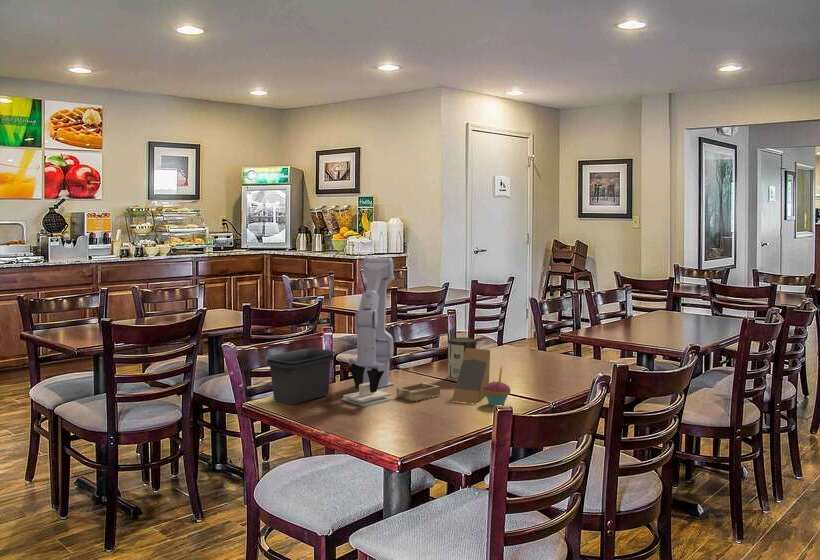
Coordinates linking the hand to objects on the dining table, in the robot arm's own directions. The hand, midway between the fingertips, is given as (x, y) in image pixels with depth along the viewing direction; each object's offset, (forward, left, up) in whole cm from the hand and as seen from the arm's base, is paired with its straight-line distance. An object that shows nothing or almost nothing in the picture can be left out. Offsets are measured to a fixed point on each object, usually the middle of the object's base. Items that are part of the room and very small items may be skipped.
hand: (366, 390), depth 234 cm
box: (+8, +16, -3) cm, 18 cm away
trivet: (0, 0, -3) cm, 3 cm away
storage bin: (-17, -14, -3) cm, 22 cm away
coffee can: (0, +46, -3) cm, 47 cm away
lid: (0, 0, -2) cm, 2 cm away
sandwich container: (+21, +26, -4) cm, 34 cm away
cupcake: (+32, +26, -3) cm, 41 cm away
